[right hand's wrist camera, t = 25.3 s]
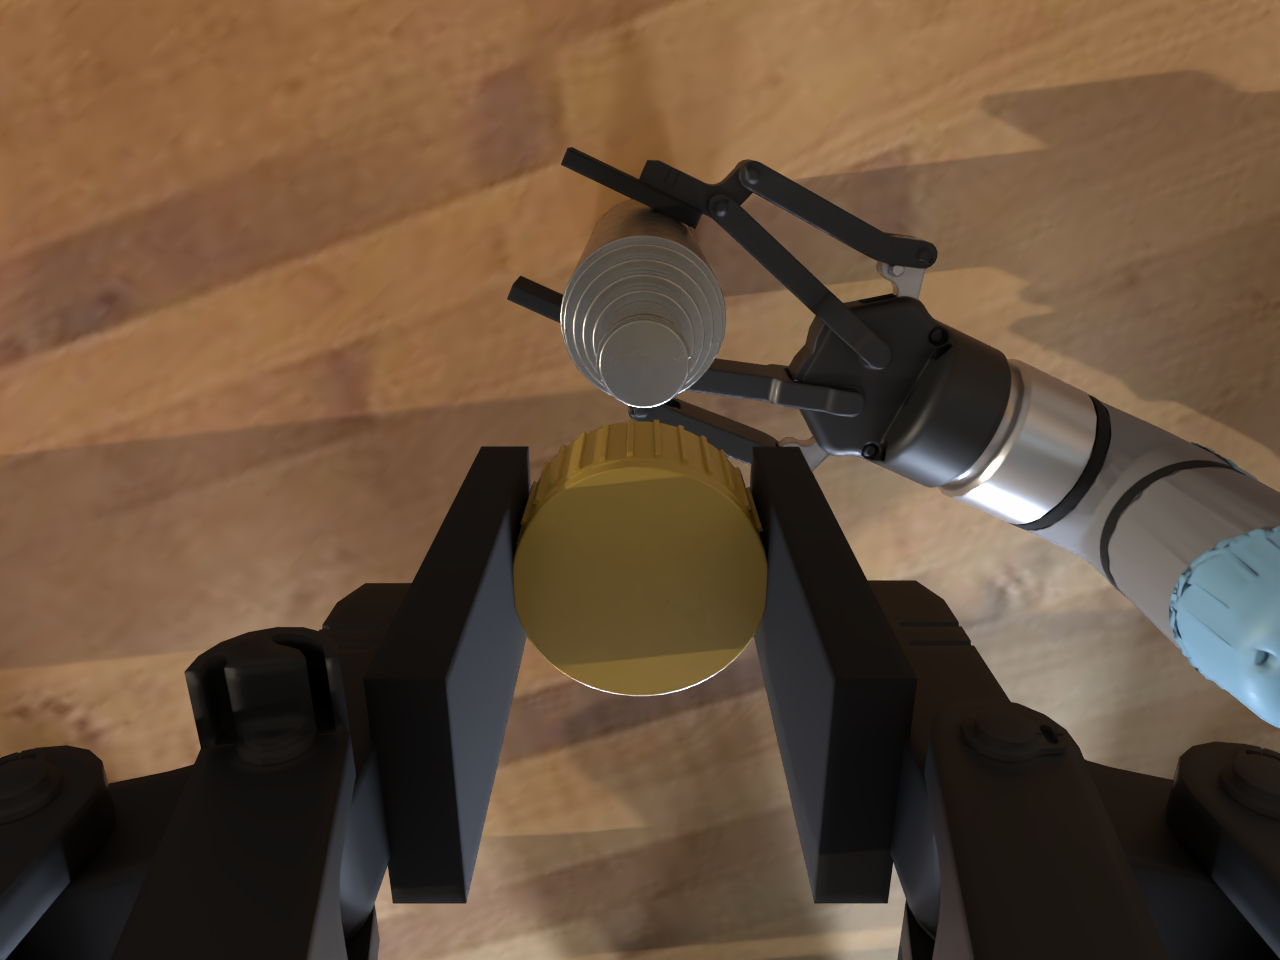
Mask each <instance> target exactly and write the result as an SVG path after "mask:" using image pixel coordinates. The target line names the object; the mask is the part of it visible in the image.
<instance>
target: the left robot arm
mask: <svg viewBox="0 0 1280 960" xmlns="http://www.w3.org/2000/svg"><path fill="white" fill-rule="evenodd" d="M561 165H563V166H565V167H567V168H569V169H571V170H573V171H575V172H577V173H579V174H582V175H584V176H586V177H588V178H590V179H592V180H594V181H596V182H598V183H600V184H602V185H605V186H607V187H609V188H611V189H613V190H615V191H617V192H619V193H621V194H623V195H625V196H627V197H630V198H632V199H634V200H636V201H638V202H640V203H642V204H644V205H646V206H648V207H650V208H653V209H655V210H657V211H659V212H661V213H663V214H665V215H668V216H670V217H671V218H673V219H676V220H678V221H680V222H682V223H684V224H686V225H688V226H690V227H692V228H694V229H695V228H696V226H697V224H698V221H699V219H700V217H701V215H702V213H703V214H705V215H707V216H709V217H711V218H713V219H714V220H715V221H716V222H717V223H718V224H719V225H720V226H721V227H722V228H723V229H724V230H725V231H726V232H728V233H729V234H730V235H731V236H732V237H733V238H734V239H735V240H736V241H737V242H738V243H739V244H740V245H741V246H743V247H744V248H745V249H746V250H747V251H748V252H749V253H750V254H751V255H752V256H753V257H754V258H755V259H756V260H758V261H759V262H760V263H761V264H762V265H763V266H764V267H765V268H766V269H767V270H768V271H769V272H770V273H771V274H773V275H774V276H775V277H776V278H777V279H778V280H779V281H780V282H781V283H782V284H783V285H784V286H785V287H786V288H787V289H789V290H790V291H791V292H792V293H793V294H794V295H795V296H796V297H797V298H798V299H799V300H800V301H801V302H802V303H804V304H805V305H806V306H807V307H808V308H809V309H810V310H811V311H812V312H813V313H814V314H815V315H816V316H815V318H814V320H813V322H812V324H811V326H810V328H809V332H808V336H807V340H806V344H805V345H804V346H803V347H802V349H801V350H800V351H799V352H798V353H797V354H796V355H795V356H794V358H793V360H792V362H791V364H790V366H783V365H775V364H770V365H760V364H752V363H745V362H738V361H730V360H723V359H716V358H715V359H714V361H713V363H712V364H711V365H710V367H709V368H708V370H707V371H706V372H705V373H704V374H703V375H702V376H701V377H700V378H699V380H698V381H696V382H695V383H694V384H693V385H692V386H690V387H689V388H687V389H686V391H693V392H701V393H708V394H716V395H723V396H731V397H738V398H745V399H753V400H760V401H767V402H770V403H772V404H775V405H778V406H784V407H792V408H799V410H800V412H801V413H802V415H803V417H804V419H805V421H806V423H807V425H808V427H809V429H810V431H811V433H812V435H813V437H812V438H810V439H808V440H806V441H800V440H797V439H795V438H793V437H786V438H783V439H782V440H781V441H780V442H778V441H777V440H776V439H774V438H773V437H771V436H769V435H768V434H766V433H764V432H761V431H759V430H757V429H754V428H751V427H749V426H746V425H744V424H741V423H738V422H736V421H733V420H731V419H728V418H725V417H723V416H720V415H718V414H715V413H713V412H710V411H707V410H705V409H702V408H700V407H697V406H694V405H692V404H689V403H687V402H684V401H681V400H679V399H676V398H673V399H671V400H669V401H668V402H666V403H664V404H662V405H658V406H654V407H650V408H649V407H648V408H640V407H634V406H630V405H628V412H629V416H630V417H631V419H634V421H636V422H654V420H659V423H663V424H667V425H671V426H675V427H678V426H679V425H681V426H684V430H686V431H689V432H691V433H693V434H695V435H697V436H699V437H701V435H703V436H705V437H706V439H707V442H708V443H710V444H711V445H712V446H714V447H715V448H717V449H718V450H719V451H720V450H721V449H722V450H723V451H725V453H726V456H728V457H730V458H733V459H736V460H738V461H741V462H744V463H746V464H749V465H751V460H752V447H800V449H801V451H802V453H803V455H804V457H805V459H806V461H807V463H808V465H809V467H810V469H811V471H813V470H814V469H815V468H816V467H817V466H818V465H819V464H820V463H821V462H822V461H823V460H824V459H826V458H827V457H828V456H829V455H833V456H846V455H852V456H858V457H861V458H864V459H866V460H868V461H870V462H873V463H875V464H877V465H879V466H882V467H884V468H886V469H888V470H891V471H893V472H895V473H897V474H900V475H902V476H904V477H906V478H908V479H911V480H913V481H915V482H917V483H920V484H922V485H924V486H926V487H938V488H939V490H940V491H941V492H942V493H943V494H944V495H946V496H949V497H951V498H953V499H956V500H958V501H960V502H962V503H965V504H967V505H969V506H971V507H974V508H976V509H978V510H981V511H983V512H985V513H987V514H990V515H992V516H994V517H996V518H999V519H1001V520H1003V521H1006V522H1007V523H1010V524H1012V525H1015V526H1017V527H1019V528H1022V529H1025V530H1027V531H1029V532H1031V533H1033V534H1035V535H1038V536H1040V537H1042V538H1044V539H1046V540H1048V541H1050V542H1052V543H1054V544H1056V545H1058V546H1061V547H1063V548H1065V549H1067V550H1069V551H1071V552H1073V553H1074V554H1076V555H1078V556H1080V557H1081V558H1083V559H1084V560H1086V561H1087V562H1088V563H1090V564H1091V565H1092V566H1093V567H1094V568H1095V569H1096V570H1097V571H1098V572H1099V573H1100V574H1101V575H1102V576H1104V577H1105V578H1106V579H1107V580H1108V581H1109V582H1110V583H1111V584H1112V585H1113V586H1114V587H1115V588H1116V589H1117V590H1119V591H1120V592H1121V593H1122V594H1123V595H1124V596H1126V597H1127V598H1128V599H1129V600H1130V601H1131V602H1132V603H1133V604H1134V605H1135V606H1136V607H1137V608H1138V609H1139V610H1140V611H1141V612H1142V613H1143V614H1144V615H1145V616H1146V617H1147V618H1148V619H1149V620H1150V621H1151V622H1152V623H1153V624H1154V625H1155V626H1156V627H1157V628H1158V629H1159V630H1160V631H1161V632H1162V633H1163V634H1164V635H1165V636H1166V637H1167V638H1168V639H1169V640H1170V641H1171V642H1172V643H1173V644H1174V645H1175V646H1176V647H1177V648H1178V649H1179V650H1180V651H1181V653H1182V654H1183V655H1184V656H1186V658H1188V661H1189V662H1190V664H1191V665H1192V666H1193V667H1194V668H1196V670H1197V671H1198V672H1199V673H1201V674H1202V675H1203V676H1204V677H1205V678H1206V679H1207V680H1212V681H1214V682H1215V683H1216V684H1217V685H1218V686H1219V687H1221V688H1222V689H1223V690H1227V691H1228V692H1229V693H1230V694H1232V695H1233V696H1234V697H1235V698H1236V699H1238V700H1239V701H1240V702H1241V703H1243V704H1244V705H1245V706H1246V707H1247V708H1249V709H1250V710H1251V711H1252V712H1253V713H1255V714H1256V715H1257V716H1258V717H1260V718H1261V719H1263V720H1264V721H1266V722H1268V723H1269V724H1271V725H1273V726H1275V727H1278V728H1280V493H1279V492H1277V491H1275V490H1273V489H1272V488H1270V487H1268V486H1266V485H1264V484H1263V483H1261V482H1259V481H1258V480H1257V479H1256V478H1255V477H1254V476H1252V475H1251V474H1249V473H1248V472H1246V471H1244V470H1242V469H1240V468H1239V467H1238V466H1237V465H1236V464H1234V463H1233V462H1232V461H1231V460H1228V459H1226V458H1223V457H1221V456H1220V455H1218V454H1216V453H1215V452H1214V451H1213V450H1211V449H1209V448H1206V447H1203V446H1201V445H1199V444H1196V443H1193V442H1191V443H1190V442H1188V441H1186V440H1183V439H1181V438H1179V437H1177V436H1175V435H1173V434H1171V433H1169V432H1167V431H1165V430H1163V429H1161V428H1159V427H1156V426H1154V425H1152V424H1150V423H1147V422H1145V421H1143V420H1141V419H1139V418H1136V417H1134V416H1132V415H1130V414H1127V413H1125V412H1123V411H1121V410H1119V409H1116V408H1114V407H1112V406H1110V405H1107V404H1105V403H1103V402H1101V401H1099V400H1098V399H1096V398H1094V397H1093V396H1091V395H1089V394H1087V393H1086V392H1084V391H1082V390H1080V389H1078V388H1076V387H1074V386H1072V385H1069V384H1067V383H1065V382H1063V381H1061V380H1059V379H1057V378H1055V377H1053V376H1051V375H1049V374H1047V373H1045V372H1043V371H1041V370H1039V369H1037V368H1034V367H1032V366H1030V365H1028V364H1026V363H1024V362H1022V361H1019V360H1016V359H1009V360H1007V359H1006V357H1005V355H1004V354H1003V353H1002V352H1001V351H999V350H997V349H995V348H993V347H991V346H989V345H987V344H985V343H983V342H981V341H978V340H976V339H974V338H972V337H970V336H968V335H966V334H964V333H962V332H960V331H958V330H956V329H954V328H952V327H950V326H947V325H945V324H943V323H941V322H939V321H937V320H935V319H934V318H933V317H932V316H931V315H930V314H929V313H928V311H927V310H926V308H925V306H924V305H923V304H922V303H921V302H920V301H919V300H918V297H919V293H920V289H921V285H922V281H923V277H924V273H925V269H926V268H928V267H930V266H932V265H933V264H934V263H935V261H936V259H937V249H936V247H935V246H934V245H933V244H932V243H929V242H927V241H924V240H921V239H918V238H915V237H913V236H906V235H899V234H892V233H884V232H882V231H880V230H878V229H876V228H875V227H873V226H871V225H869V224H868V223H866V222H864V221H862V220H860V219H859V218H857V217H855V216H853V215H852V214H850V213H848V212H846V211H845V210H843V209H841V208H839V207H838V206H836V205H834V204H832V203H830V202H829V201H827V200H825V199H823V198H822V197H820V196H818V195H816V194H815V193H813V192H811V191H809V190H808V189H806V188H804V187H802V186H801V185H799V184H797V183H795V182H793V181H792V180H790V179H788V178H786V177H785V176H783V175H781V174H779V173H778V172H776V171H774V170H772V169H771V168H769V167H767V166H765V165H763V164H762V163H760V162H757V161H753V160H749V159H748V160H742V161H741V162H739V163H738V164H737V165H736V167H735V168H734V169H733V170H732V171H731V173H730V174H729V175H728V176H727V177H726V178H725V179H724V180H722V181H721V182H719V183H717V184H707V183H704V182H702V181H700V180H698V179H696V178H694V177H692V176H690V175H688V174H686V173H684V172H681V171H679V170H677V169H675V168H673V167H671V166H669V165H667V164H665V163H663V162H661V161H659V160H647V162H646V164H645V166H644V168H643V171H642V173H641V175H640V178H639V179H637V178H635V177H633V176H631V175H629V174H626V173H624V172H622V171H620V170H618V169H616V168H614V167H612V166H610V165H608V164H606V163H604V162H602V161H600V160H597V159H595V158H593V157H591V156H589V155H587V154H585V153H583V152H581V151H579V150H577V149H575V148H573V147H571V148H567V151H566V153H565V156H564V158H563V161H562V163H561ZM752 193H755V194H757V195H759V196H760V197H762V198H764V199H766V200H768V201H769V202H771V203H773V204H775V205H777V206H778V207H780V208H782V209H784V210H785V211H787V212H789V213H791V214H793V215H794V216H796V217H798V218H800V219H802V220H803V221H805V222H807V223H809V224H811V225H812V226H814V227H816V228H818V229H819V230H821V231H823V232H825V233H827V234H828V235H830V236H832V237H834V238H836V239H837V240H839V241H841V242H843V243H844V244H846V245H848V246H850V247H852V248H853V249H855V250H857V251H859V252H861V253H863V254H865V255H867V256H869V257H871V258H873V259H875V260H877V265H876V268H877V272H878V274H879V275H880V276H882V277H883V278H885V279H887V280H889V281H890V282H891V283H892V286H893V293H892V294H887V295H882V296H877V297H872V298H867V299H862V300H857V301H852V302H847V303H842V302H841V301H840V300H839V299H838V298H837V297H836V296H835V295H834V294H833V293H831V292H830V291H829V290H828V289H827V288H826V287H825V286H824V285H823V284H822V283H821V282H820V281H819V280H818V279H817V278H816V277H814V276H813V275H812V274H811V273H810V272H809V271H808V270H807V269H806V268H805V267H804V266H803V265H802V264H801V263H800V262H799V261H798V260H797V259H795V258H794V257H793V256H792V255H791V254H790V253H789V252H788V251H787V250H786V249H785V248H784V247H783V246H782V245H781V244H780V243H779V242H778V241H776V240H775V239H774V238H773V237H772V236H771V235H770V234H769V233H768V232H767V231H766V230H765V229H764V228H763V227H762V226H761V225H760V224H759V223H758V222H756V221H755V220H754V219H753V218H752V217H751V216H750V215H749V214H748V213H747V212H746V211H745V210H744V209H743V208H742V207H741V206H740V205H741V204H742V203H743V202H744V201H745V200H746V199H747V198H748V197H749V196H750V195H751V194H752ZM563 296H564V295H562V294H560V293H558V292H555V291H553V290H551V289H549V288H547V287H544V286H542V285H540V284H538V283H536V282H533V281H531V280H529V279H527V278H525V277H522V276H520V277H519V278H518V279H517V280H516V281H515V283H514V284H513V286H512V288H511V291H510V293H509V296H508V298H507V299H508V300H510V301H512V302H514V303H516V304H519V305H521V306H523V307H525V308H528V309H530V310H532V311H534V312H537V313H539V314H541V315H543V316H545V317H548V318H550V319H552V320H554V321H557V322H559V323H561V321H560V316H561V305H562V299H563Z"/></svg>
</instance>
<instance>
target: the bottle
mask: <svg viewBox="0 0 1280 960" xmlns="http://www.w3.org/2000/svg"><path fill="white" fill-rule="evenodd" d="M560 321H561V331H562V336H563V341H564V343H565V346H566V349H567V351H568V353H569V355H570V357H571V359H572V361H573V362H574V364H575V365H576V367H577V368H578V369H579V371H580V372H581V373H582V374H583V375H584V376H585V377H586V378H587V379H588V380H589V381H590V382H591V383H592V384H593V385H595V386H596V387H598V388H599V389H601V390H602V391H604V392H606V393H608V394H610V395H612V396H613V397H614V398H616V399H617V400H619V401H621V402H623V403H625V404H627V405H630V406H634V407H640V408H648V407H649V408H650V407H654V406H658V405H662V404H664V403H666V402H668V401H669V400H671V399H673V398H674V397H675V396H676V395H677V394H679V393H681V392H682V391H684V390H686V389H687V388H689V387H690V386H692V385H693V384H694V383H695V382H696V381H698V380H699V378H700V377H701V376H702V375H703V374H704V373H705V372H706V371H707V370H708V368H709V367H710V365H711V364H712V363H713V361H714V359H715V358H716V356H717V354H718V352H719V349H720V347H721V344H722V341H723V337H724V333H725V325H726V310H725V303H724V298H723V295H722V291H721V288H720V286H719V284H718V281H717V279H716V277H715V276H714V274H713V272H712V270H711V268H710V266H709V264H708V263H707V261H706V259H705V257H704V255H703V253H702V251H701V249H700V248H699V246H698V244H697V242H696V240H695V238H694V236H693V235H692V233H691V231H690V229H689V227H688V225H686V224H684V223H682V222H680V221H678V220H676V219H673V218H671V217H670V216H668V215H665V214H663V213H661V212H659V211H657V210H655V209H653V208H650V207H648V206H646V205H644V204H642V203H640V202H638V201H636V200H634V199H632V200H628V201H625V202H622V203H620V204H618V205H616V206H614V207H613V208H611V209H610V210H609V211H608V212H607V213H605V214H604V216H603V217H602V218H601V219H600V220H599V222H598V224H597V225H596V227H595V229H594V231H593V233H592V235H591V237H590V239H589V241H588V243H587V245H586V247H585V250H584V252H583V254H582V256H581V258H580V260H579V262H578V264H577V266H576V268H575V270H574V272H573V274H572V276H571V278H570V280H569V282H568V285H567V287H566V289H565V292H564V296H563V299H562V305H561V316H560Z"/></svg>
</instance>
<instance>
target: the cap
mask: <svg viewBox="0 0 1280 960" xmlns="http://www.w3.org/2000/svg"><path fill="white" fill-rule="evenodd" d="M520 525H522V527H521V531H520V534H519V537H518V541H517V544H516V546H517V548H516V551H515V556H514V560H513V577H514V595H515V609H516V613H517V616H518V618H519V621H520V624H521V626H522V627H523V629H524V631H525V633H526V635H527V637H528V638H529V640H530V641H531V642H532V644H533V645H534V646H535V648H536V649H537V650H538V651H539V653H540V654H541V655H542V656H543V657H544V658H545V659H546V660H547V661H548V662H549V663H551V664H552V665H553V666H554V667H556V668H557V669H558V670H559V671H561V672H562V673H564V674H565V675H567V676H569V677H570V678H572V679H574V680H576V681H578V682H580V683H582V684H584V685H586V686H589V687H592V688H595V689H598V690H601V691H605V692H609V693H614V694H619V695H629V696H652V695H661V694H667V693H671V692H676V691H680V690H683V689H686V688H689V687H691V686H694V685H697V684H699V683H701V682H703V681H705V680H707V679H709V678H711V677H712V676H714V675H715V674H717V673H718V672H720V671H721V670H723V669H724V668H725V667H726V666H728V665H729V664H730V663H731V662H732V661H734V660H735V659H736V658H737V656H738V655H739V654H740V653H741V652H742V651H743V650H744V649H745V648H746V646H747V645H748V643H749V642H750V640H751V639H752V638H753V636H754V634H755V633H756V631H757V629H758V627H759V625H760V623H761V620H762V618H763V615H764V612H765V604H766V587H767V569H768V561H767V557H766V553H765V549H764V545H763V542H762V539H761V536H760V532H763V528H762V525H761V522H760V519H759V515H758V512H757V509H756V506H755V503H754V499H753V496H752V493H751V490H750V487H748V488H746V487H745V484H744V481H743V477H742V474H741V471H740V469H739V468H738V467H737V468H734V467H733V465H732V464H731V463H730V462H729V460H728V459H727V457H726V453H725V451H723V450H722V449H721V450H720V451H719V450H718V449H717V448H715V447H714V446H712V445H711V444H710V443H708V442H707V439H706V437H705V436H703V435H701V437H699V436H697V435H695V434H693V433H691V432H689V431H686V430H684V426H681V425H679V426H678V427H675V426H671V425H667V424H663V423H659V420H654V422H634V419H629V420H628V422H625V423H618V424H613V425H610V426H609V423H606V424H604V425H603V427H602V428H599V429H597V430H595V431H592V432H590V433H587V434H586V432H583V433H581V434H580V438H578V439H577V440H575V441H573V442H572V443H571V444H570V445H568V446H567V447H566V446H565V445H563V446H562V447H561V448H560V451H559V454H558V455H557V456H556V457H555V458H554V459H553V460H552V461H551V462H550V463H548V462H546V463H545V464H544V467H543V470H542V473H541V477H540V479H539V481H538V482H535V481H534V482H533V484H532V487H531V490H530V494H529V497H528V500H527V503H526V507H525V510H524V513H523V516H522V519H521V523H520Z"/></svg>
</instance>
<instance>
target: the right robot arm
mask: <svg viewBox="0 0 1280 960" xmlns="http://www.w3.org/2000/svg"><path fill="white" fill-rule="evenodd" d="M750 490H751V493H752V496H753V499H754V503H755V506H756V509H757V512H758V515H759V519H760V522H761V525H762V528H763V532H760V536H761V539H762V542H763V545H764V549H765V553H766V557H767V561H768V569H767V587H766V604H765V612H764V615H763V618H762V620H761V623H760V625H759V627H758V629H757V631H756V633H755V634H754V638H755V643H756V647H757V652H758V656H759V661H760V665H761V669H762V674H763V678H764V683H765V687H766V691H767V696H768V700H769V705H770V709H771V714H772V718H773V722H774V727H775V731H776V736H777V740H778V745H779V749H780V753H781V758H782V762H783V767H784V771H785V775H786V780H787V784H788V789H789V793H790V798H791V802H792V806H793V811H794V815H795V820H796V824H797V829H798V833H799V837H800V842H801V846H802V851H803V855H804V859H805V864H806V868H807V873H808V877H809V882H810V886H811V890H812V895H813V899H814V903H888V897H889V889H890V882H891V874H892V867H893V862H894V865H895V868H896V871H897V874H898V876H899V879H900V882H901V885H902V888H903V891H904V894H905V897H906V904H905V911H904V918H903V925H902V932H901V939H900V946H899V953H898V960H1280V753H1278V752H1275V751H1272V750H1268V749H1261V748H1260V747H1257V746H1252V745H1247V744H1238V743H1226V742H1211V743H1206V744H1201V745H1196V746H1192V747H1191V748H1190V749H1189V750H1187V751H1186V752H1185V753H1184V754H1183V755H1182V756H1180V758H1179V762H1178V765H1177V769H1176V773H1175V776H1174V780H1170V779H1165V778H1160V777H1155V776H1150V775H1146V774H1141V773H1136V772H1131V771H1126V770H1121V769H1116V768H1112V767H1108V766H1104V765H1101V764H1097V763H1093V762H1090V761H1087V760H1084V758H1083V755H1082V753H1081V751H1080V748H1079V747H1078V745H1077V744H1076V743H1075V741H1074V740H1073V738H1072V737H1071V736H1070V734H1069V733H1068V732H1067V730H1066V729H1064V728H1063V727H1061V726H1060V725H1059V724H1057V723H1056V722H1054V721H1053V720H1052V719H1050V718H1049V717H1047V716H1046V715H1044V714H1042V713H1040V712H1037V711H1035V710H1032V709H1030V708H1028V707H1025V706H1023V705H1020V704H1018V703H1013V702H1010V700H1009V699H1008V697H1007V696H1006V694H1005V692H1004V691H1003V689H1002V688H1001V686H1000V685H999V683H998V682H997V680H996V679H995V677H994V676H993V674H992V673H991V671H990V670H989V668H988V666H987V665H986V663H985V662H984V660H983V659H982V657H981V656H980V654H979V653H978V651H977V650H976V648H975V647H974V646H971V640H970V639H969V637H968V636H967V634H966V633H965V631H964V630H963V628H962V627H959V622H958V621H957V619H956V617H955V616H954V614H953V613H952V611H951V610H950V608H949V607H948V605H947V604H946V602H945V601H944V599H942V598H941V597H939V596H938V595H936V594H935V593H933V592H932V591H930V590H929V589H927V588H926V587H924V586H923V585H921V584H920V583H918V582H917V581H867V579H866V577H865V575H864V573H863V571H862V569H861V567H860V565H859V563H858V561H857V559H856V557H855V555H854V553H853V551H852V549H851V548H850V546H849V544H848V542H847V540H846V538H845V536H844V534H843V532H842V530H841V528H840V526H839V524H838V522H837V520H836V518H835V516H834V514H833V512H832V510H831V508H830V506H829V504H828V502H827V500H826V498H825V496H824V494H823V493H822V491H821V489H820V487H819V485H818V483H817V481H816V479H815V477H814V475H813V473H812V471H811V469H810V467H809V465H808V463H807V461H806V459H805V457H804V455H803V453H802V451H801V449H800V447H752V460H751V481H750ZM529 494H530V469H529V448H528V447H481V449H480V450H479V452H478V454H477V456H476V458H475V460H474V462H473V464H472V466H471V468H470V470H469V472H468V474H467V476H466V478H465V480H464V482H463V484H462V486H461V488H460V490H459V492H458V494H457V496H456V498H455V500H454V502H453V504H452V505H451V507H450V509H449V511H448V513H447V515H446V517H445V519H444V521H443V523H442V525H441V527H440V529H439V531H438V533H437V535H436V537H435V539H434V541H433V543H432V545H431V547H430V549H429V551H428V553H427V555H426V557H425V559H424V561H423V562H422V564H421V566H420V568H419V570H418V572H417V574H416V576H415V578H414V580H413V582H412V583H365V584H364V585H362V586H361V587H359V588H358V589H356V590H355V591H353V592H352V593H350V594H349V595H348V596H346V597H345V598H343V599H342V600H340V601H339V602H337V604H336V605H335V607H334V608H333V610H332V611H331V613H330V614H329V616H328V617H327V619H326V621H325V622H324V624H323V628H322V630H319V631H316V630H312V629H308V628H304V627H275V628H270V629H264V630H258V631H253V632H248V633H245V634H242V635H240V636H237V637H234V638H231V639H229V640H226V641H223V642H220V643H219V644H217V645H216V646H214V647H212V648H211V649H209V650H207V651H206V652H204V653H203V654H201V655H199V656H198V657H197V658H196V659H195V660H194V662H193V663H192V664H191V665H190V666H189V667H188V668H187V670H186V671H185V677H186V681H187V686H188V690H189V695H190V700H191V704H192V709H193V713H194V718H195V722H196V727H197V732H198V736H199V741H200V745H201V750H200V752H199V754H198V757H197V759H196V761H195V764H194V765H190V766H187V767H183V768H179V769H176V770H172V771H168V772H163V773H158V774H154V775H149V776H144V777H139V778H134V779H129V780H125V781H120V782H115V783H110V784H108V781H107V777H106V774H105V770H104V766H103V763H102V761H101V760H100V759H99V758H98V757H97V756H96V755H95V754H93V753H92V752H91V751H90V750H87V749H82V748H77V747H72V746H67V745H66V746H54V747H42V748H35V749H30V750H25V751H22V752H20V753H17V752H16V753H13V754H10V755H7V756H4V757H1V758H0V960H377V959H378V950H379V940H380V939H379V932H378V925H377V918H376V911H375V904H374V903H375V900H376V897H377V894H378V891H379V888H380V886H381V883H382V880H383V877H384V874H385V871H386V868H387V865H388V870H389V877H390V885H391V892H392V900H393V903H466V902H467V897H468V893H469V889H470V884H471V880H472V875H473V871H474V866H475V862H476V858H477V853H478V849H479V844H480V840H481V835H482V831H483V827H484V822H485V818H486V813H487V809H488V805H489V800H490V796H491V791H492V787H493V782H494V778H495V774H496V769H497V765H498V760H499V756H500V751H501V747H502V743H503V738H504V734H505V729H506V725H507V721H508V716H509V712H510V707H511V703H512V698H513V694H514V690H515V685H516V681H517V676H518V672H519V667H520V663H521V659H522V654H523V650H524V645H525V641H526V636H527V635H526V633H525V631H524V629H523V627H522V626H521V624H520V621H519V618H518V616H517V613H516V609H515V595H514V577H513V560H514V556H515V551H516V548H517V546H516V544H517V541H518V537H519V534H520V531H521V527H522V525H520V523H521V519H522V516H523V513H524V510H525V507H526V503H527V500H528V497H529Z"/></svg>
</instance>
